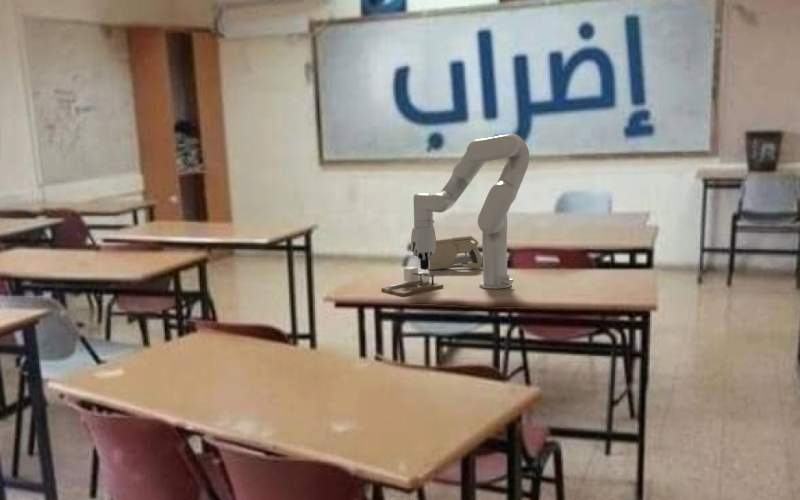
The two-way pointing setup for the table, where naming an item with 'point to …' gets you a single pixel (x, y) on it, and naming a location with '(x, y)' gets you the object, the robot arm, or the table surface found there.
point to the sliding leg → (412, 275)
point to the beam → (424, 280)
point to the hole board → (413, 289)
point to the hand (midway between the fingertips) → (424, 268)
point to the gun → (455, 253)
